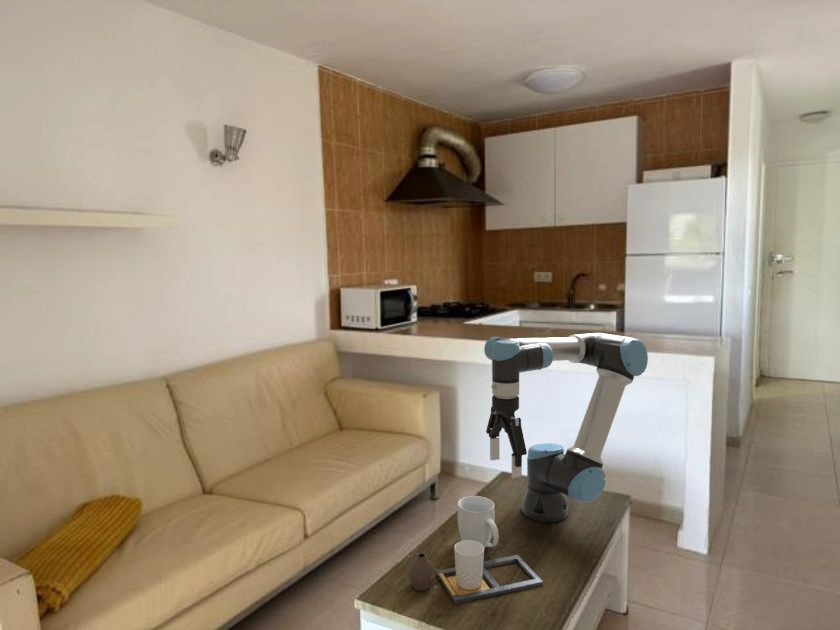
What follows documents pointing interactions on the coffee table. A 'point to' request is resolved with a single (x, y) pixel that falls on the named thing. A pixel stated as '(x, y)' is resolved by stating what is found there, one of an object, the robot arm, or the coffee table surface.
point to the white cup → (469, 564)
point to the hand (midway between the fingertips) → (505, 468)
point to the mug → (477, 520)
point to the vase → (421, 572)
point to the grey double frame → (484, 589)
